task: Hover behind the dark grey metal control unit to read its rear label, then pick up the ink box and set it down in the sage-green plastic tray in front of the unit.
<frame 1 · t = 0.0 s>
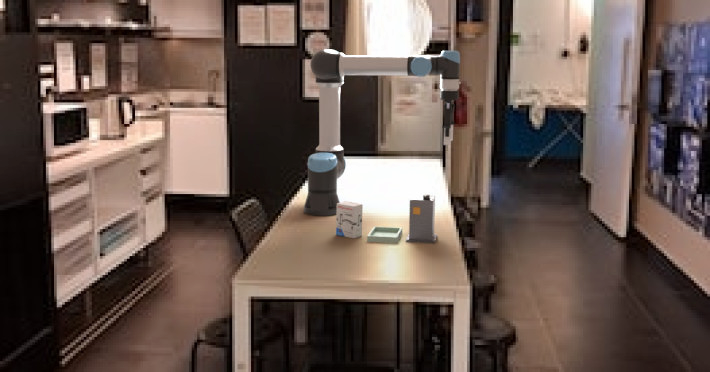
hand: (448, 142, 317), 28 cm above the table, fingers open, 13 cm apart
ink box: (349, 236, 280), on the table
tray: (385, 237, 278), on the table
control unit: (421, 239, 275), on the table
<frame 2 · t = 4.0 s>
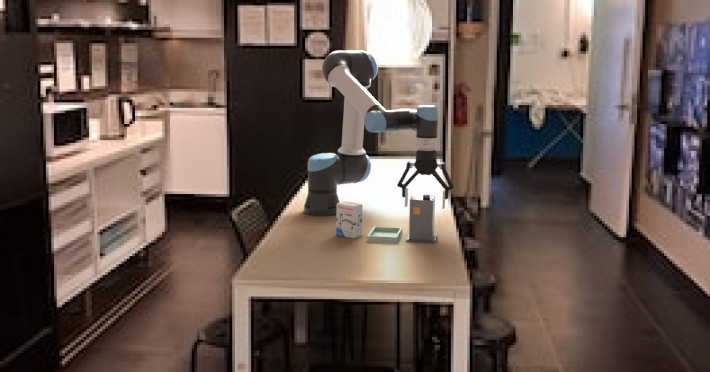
hand: (424, 207, 285), 9 cm above the table, fingers open, 13 cm apart
nothing on the table moved.
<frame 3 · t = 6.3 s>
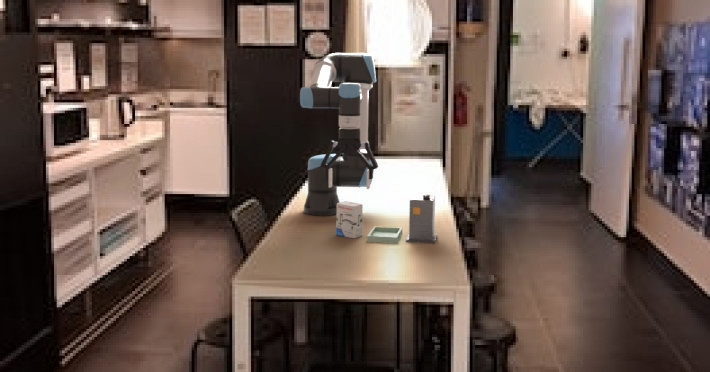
hand: (349, 187, 277), 17 cm above the table, fingers open, 13 cm apart
nothing on the table moved.
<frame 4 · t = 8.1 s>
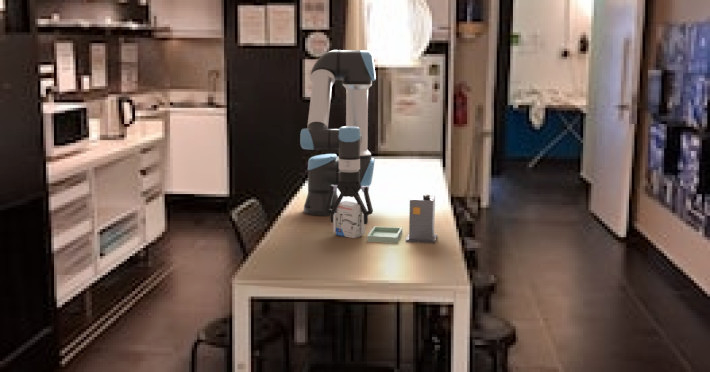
hand: (349, 232, 280), 1 cm above the table, fingers closed on ink box, 9 cm apart
ink box: (349, 236, 280), on the table, touching gripper
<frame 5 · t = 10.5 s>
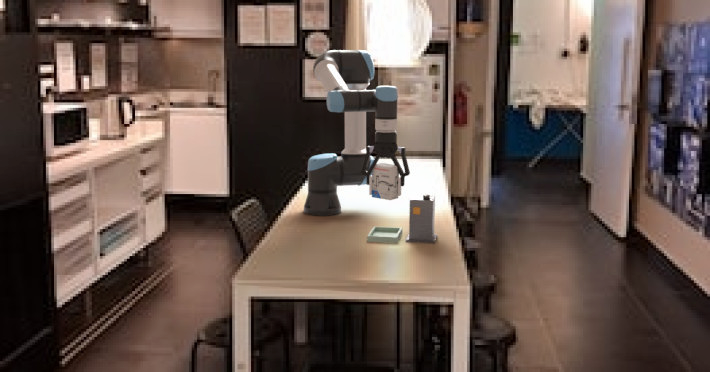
hand: (385, 194, 275), 15 cm above the table, fingers closed on ink box, 9 cm apart
ink box: (385, 198, 275), point 14 cm above the table, touching gripper
when the fingers open (4 cm above the table, at t = 13.1 s): ink box stays where it is, resting on tray.
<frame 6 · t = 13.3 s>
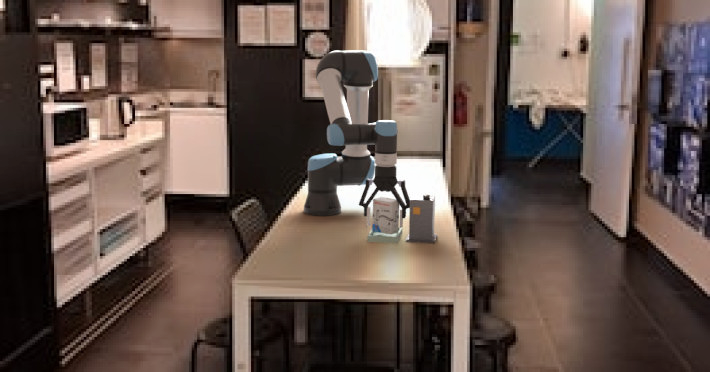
hand: (384, 226, 277), 4 cm above the table, fingers open, 11 cm apart
ink box: (385, 232, 277), point 2 cm above the table, touching tray
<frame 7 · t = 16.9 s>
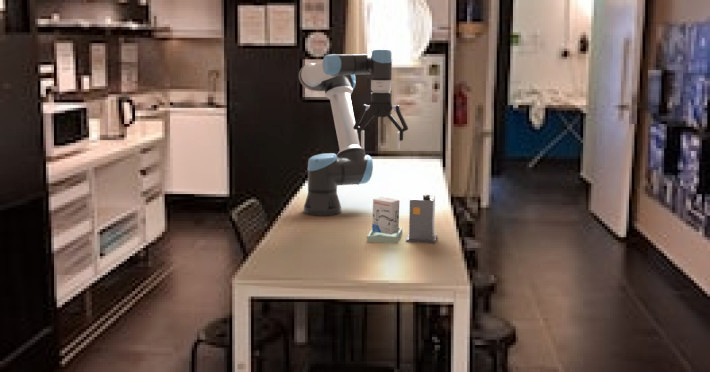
hand: (380, 149, 293), 29 cm above the table, fingers open, 13 cm apart
nothing on the table moved.
at the end: ink box inside the target area on the tray (0.1 cm from its centre), point 1.8 cm above the tray's base; ink box tilted 0°; the gripper is holding nothing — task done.
